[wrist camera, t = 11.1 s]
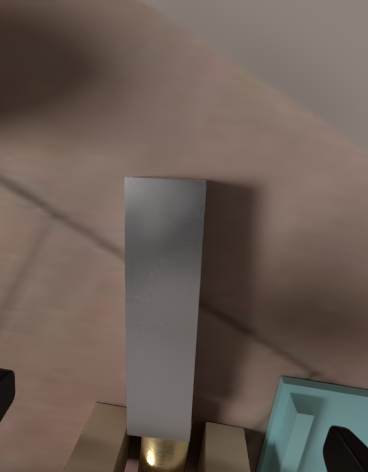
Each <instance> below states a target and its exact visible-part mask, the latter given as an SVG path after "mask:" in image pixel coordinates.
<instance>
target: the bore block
mask: <svg viewBox="0 0 368 472" xmlns="http://www.w3.org/2000/svg"><path fill="white" fill-rule="evenodd" d="M129 438H130V435H127V408H125V407H119V406H114V405H108V404H102V403H96V404H95V406H94V408H93V410H92V412H91V414H90V416H89V418H88V421H87V423H86V425H85V427H84V429H83V431H82V433H81V435H80V437H79V440H78V442H77V444H76V446H75V448H74V450H73V452H72V454H71V456H70V458H69V461H68V463H67V465H66V467H65V469H64V471H63V472H124V470H125V466H126V463H127V458H128V448H129ZM197 472H250V466H249V460H248V453H247V447H246V440H245V434H244V428H240V427H234V426H228V425H222V424H217V423H211V422H206V424H205V430H204V435H203V440H202V446H201V451H200V457H199V462H198V467H197Z"/></svg>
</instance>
